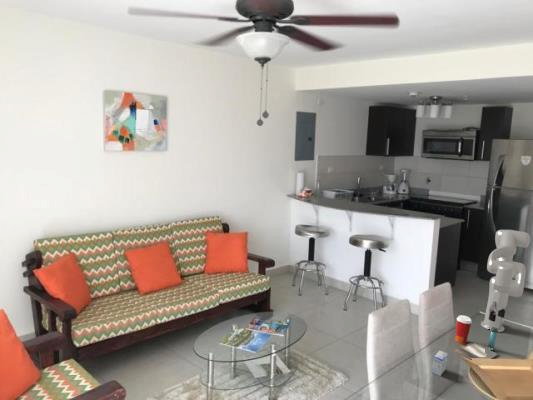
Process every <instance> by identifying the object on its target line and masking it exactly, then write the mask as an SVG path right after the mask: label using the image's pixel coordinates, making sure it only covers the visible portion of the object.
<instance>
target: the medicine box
mask: <svg viewBox="0 0 533 400" xmlns="http://www.w3.org/2000/svg"><path fill="white" fill-rule="evenodd" d="M448 358H449V353H447V352H444V351H443V350H438V352H437V353H436V354H435V355H434V356H433V361H432V366H431V371H430V372H431V373H432V374H434V375H436V376H438V377H441V376H442V375H443V373H444V372H445V371H446V369H447V363H448Z"/></svg>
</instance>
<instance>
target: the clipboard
mask: <svg viewBox="0 0 533 400" xmlns="http://www.w3.org/2000/svg"><path fill="white" fill-rule="evenodd" d="M485 349H489V350H491V348H489V347H488V345H484V344H482V343H476V342H475V341H471V342H469V343H466V344H464V345H462V346H460V347H459V348H456V349H455V350H454V353H456V354H459V355H461V356H463V357H465V358H466V359H469V358H480V357H486V356H487V354H486V353H485Z"/></svg>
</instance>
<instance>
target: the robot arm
mask: <svg viewBox="0 0 533 400" xmlns="http://www.w3.org/2000/svg"><path fill="white" fill-rule="evenodd" d="M494 241H495V246H496V248H495V249H493V250H492V251H491V253H490V254H489V256H488V259H487V263H486V264H487V265H486V270H487V272H489V273H491V274H493V275H495V276H492V277H491V278H490V279H489V291H488V292H489V293H488V297H487V298H488V300H487V303H486V305H487V306H486V309H485V315H484V320H482V321H480V325H481V327H482V328H484V329H486V330H488V329H490V330H489V331H491V327H495V328H497V329H498V330H497V331H498V332H497V333H502V332H504V331H505V327H504V326H503V323H504V322H505V319H504V318H505V314H506V309H507V306H508V303H509V302H508V300H509V297H513V298H520V297H522V295H523V293H524V289H525V288H524V287H525V280H526V274H527V272H526V271H527V270H526V269H527V268H526V265H525V264H523V263H522V262H517V261H514V260H513V258H514V256H515V255H516V253H517V247H519V248H528V247H529V246H530V243H531V235H530V234H529V233H528V232H525V231H520V230H514V229H499V230H497V231H496V232H495V237H494Z"/></svg>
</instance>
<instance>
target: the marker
mask: <svg viewBox="0 0 533 400" xmlns="http://www.w3.org/2000/svg"><path fill="white" fill-rule="evenodd" d="M497 330H498V329H497V328H495V327H491V330H490V334H489V341H488V345H487V347H490V348H494V349H495V344H496V339H497V333H498V332H497Z"/></svg>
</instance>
